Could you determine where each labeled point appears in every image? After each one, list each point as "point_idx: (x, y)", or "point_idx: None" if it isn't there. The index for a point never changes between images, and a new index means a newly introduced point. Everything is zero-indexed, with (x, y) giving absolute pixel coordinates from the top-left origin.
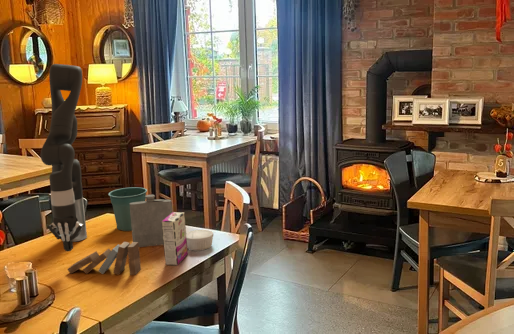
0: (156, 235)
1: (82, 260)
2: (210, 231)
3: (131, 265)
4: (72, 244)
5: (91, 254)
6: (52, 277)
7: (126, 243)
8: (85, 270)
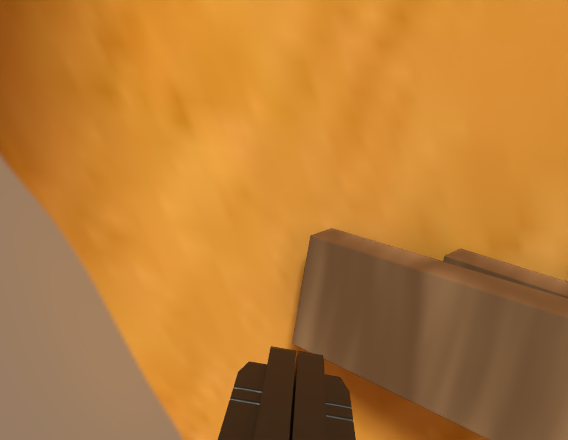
0: None
1: (450, 419)
2: None
3: None
4: (349, 433)
5: (551, 383)
6: (209, 367)
7: None
8: None
